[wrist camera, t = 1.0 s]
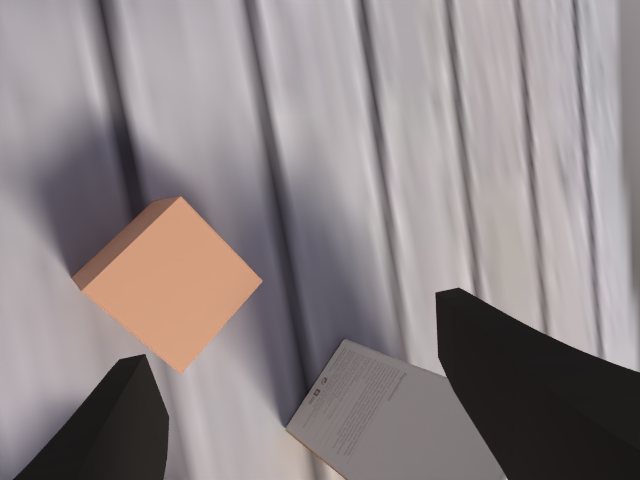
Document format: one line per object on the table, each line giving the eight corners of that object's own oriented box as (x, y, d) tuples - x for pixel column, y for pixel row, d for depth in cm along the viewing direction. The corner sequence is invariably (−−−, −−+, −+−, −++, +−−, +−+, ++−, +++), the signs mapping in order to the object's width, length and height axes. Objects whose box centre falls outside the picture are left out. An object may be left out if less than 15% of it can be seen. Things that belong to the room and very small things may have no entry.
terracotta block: (153, 346, 24) (180, 374, 19) (71, 277, 22) (81, 291, 17) (223, 271, 25) (262, 280, 21) (153, 200, 23) (181, 196, 19)
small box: (281, 429, 27) (455, 574, 16) (343, 335, 29) (537, 405, 18) (368, 491, 30) (564, 646, 19) (419, 403, 32) (623, 498, 21)
